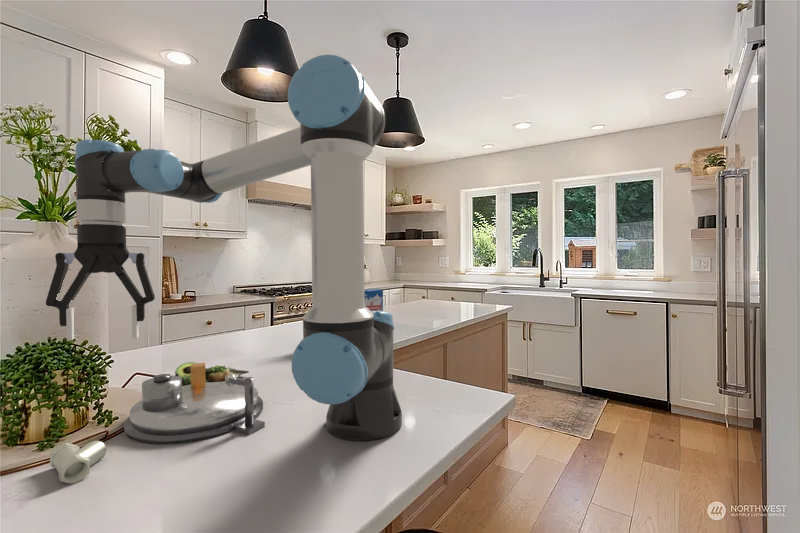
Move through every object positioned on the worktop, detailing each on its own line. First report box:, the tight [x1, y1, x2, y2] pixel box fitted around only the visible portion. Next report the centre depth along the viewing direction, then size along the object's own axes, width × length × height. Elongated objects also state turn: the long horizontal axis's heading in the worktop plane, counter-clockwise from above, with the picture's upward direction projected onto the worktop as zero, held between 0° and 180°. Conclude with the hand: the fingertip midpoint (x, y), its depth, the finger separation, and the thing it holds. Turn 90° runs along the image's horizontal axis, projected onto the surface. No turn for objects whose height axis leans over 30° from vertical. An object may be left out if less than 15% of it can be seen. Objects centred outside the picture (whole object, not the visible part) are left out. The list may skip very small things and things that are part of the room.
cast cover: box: [141, 373, 182, 412], centre depth 82 cm, size 7×7×6 cm
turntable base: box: [123, 395, 264, 445], centre depth 85 cm, size 26×26×1 cm
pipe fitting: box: [49, 440, 107, 485], centre depth 63 cm, size 8×4×7 cm
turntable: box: [129, 362, 259, 435], centre depth 84 cm, size 24×24×7 cm
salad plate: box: [174, 361, 250, 386], centre depth 108 cm, size 19×18×5 cm
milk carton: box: [364, 288, 384, 311], centre depth 160 cm, size 10×6×20 cm, turn 119°
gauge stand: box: [225, 373, 266, 436], centre depth 79 cm, size 8×4×10 cm, turn 64°
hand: (104, 340), depth 77 cm, fingers open, 9 cm apart
